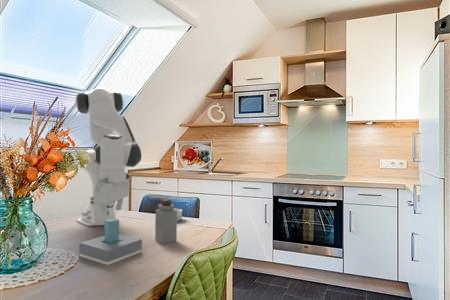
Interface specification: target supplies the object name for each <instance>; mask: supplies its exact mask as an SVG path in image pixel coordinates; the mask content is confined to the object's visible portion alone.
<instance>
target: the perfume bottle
mask: <svg viewBox="0 0 450 300" xmlns="http://www.w3.org/2000/svg"><path fill="white" fill-rule="evenodd" d="M160 203H161V204H157V207H158V209H155V219H154V220H155V221H154V222H155V227H154V228H155V230H154V231H155V234H154V236H155V237H154V240H155V241H156V242H158V243H159V244H162V245H165V244H170V243H174V242H177V240H178V239H177V233H178V231H177V228H178V227H177V225H178V224H177V222H178V221H177V210H174V209H175V205H174V204H172V199H168V198H167V199H161V200H160Z"/></svg>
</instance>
